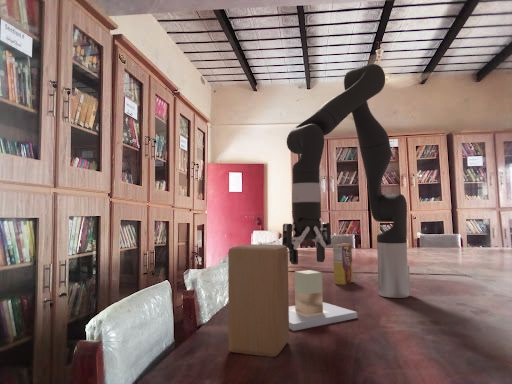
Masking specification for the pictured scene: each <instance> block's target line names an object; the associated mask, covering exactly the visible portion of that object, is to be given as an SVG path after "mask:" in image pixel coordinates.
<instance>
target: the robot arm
mask: <svg viewBox="0 0 512 384" xmlns="http://www.w3.org/2000/svg"><path fill="white" fill-rule="evenodd" d="M385 84H386V74H385V71H384V69H383V67H382V66H381V65H379V64H378V63H377V64H376V63H371V64H366V65H362V66H361V65H360V66H358V67H355V68H352V69H349V70H347V72H345V75H344V78H343V86H344V91H342V92H341V93H338V94H337V95H336V96H334V97H332V98H331V99H329V100H327V101H326V102H325V103H323V104H322V105H321V106H320V107H319V108H318V109H317V110H316V111H315V112H314V113H313V114H312V115H311V116H310V117H308V118H307V119H304V121H302V122H301V123H299V124H298V125H296V126H295V127H294V128H292V129H291V131H290V132H289V134H288V135H287V137H286V147H287V149H288V150H289V151H290V152H291V153H293V154H295V155H300V158H299V160H297V161H296V162H295V163H294V164H293V166H292V189H291V205H292V206H291V207H292V215H291V216H292V219H293V222H292V223H283V224H282V239H281V240H282V242H281V245H284V246H286V247H287V249H288V261H289V262H290V264H291V265H298V264H299V249H298V248H299V246H300V245H301V243H303V241H307V240H311V241H312V242H314V244H315V245H316V248H315V249H316V262H318V263H324V262H325V259H326V251H325V250H326V247H327V246H330V245H332V239H331V224H330V222H321V218H322V198H321V197H322V195H321V194H322V193H321V186H320V165H321V162H322V157H323V152H324V147H325V136H327V135H329V134H330V133H331V132H333V131H334V130H335V129H336V128H337V127H338V126H339V125H340V124H341V123H342V122H343V121H344V120H345V119H346V118H347V117H348V116H349V115H350V114H352V119H353V123H354V125H355V131H356V135H357V140H358V146H359V150H360V151H359V152H360V156H361V161H362V164H363V168H364V173H365V177H366V184H367V190H368V191H367V193H368V199H369V200H368V201H369V207H370V213H371V216H372V218H373V220H374V221H375V222H377V223H378V222H379V223H392V226H391V227H390V228H388V229H387V230H385V231H383V232H379V233H377V235H376V251H377V253H376V254H377V277H378V278H377V280H378V281H377V283H378V284H377V285H378V296H381V297H385V298H391V299H404V298H408V297H409V296H411V277H410V275H411V273H410V265H408V248H407V247H408V245H407V242H408V241H407V240H408V239H407V236H408V224H407V223H408V203H407V199H406V197H405V195H403V194H401V193H391V194H390V193H389V194H388V193H387V194H383V193H382V181H383V179H384V175H385V173H386V171H387V169H388V167H389V165H390V162H391V158H392V147H391V144H390V137H389V135H388V132H387V131H386V129H385V128H384V127H383V126H382V125H381V123H380V122H379V121H378V120H377V119H376V118H375V116H374V115H373V113H372V112H371V109H370V108H369V107H370V106H369V103H368V101H369V100H370V99H372V98H374V97H375V96H376V95H378V94H379V93H381V91H382V90H383V89H384V87H385ZM293 231H294V233H293Z"/></svg>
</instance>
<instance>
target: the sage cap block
mask: <svg viewBox="0 0 512 384" xmlns="http://www.w3.org/2000/svg"><path fill="white" fill-rule="evenodd" d="M295 291H297V292H300V293H304V294H313V293H320V292H322V293H323V272H322V271H317V270H311V269H308V270H299V271H298V270H297V271H294V292H295Z"/></svg>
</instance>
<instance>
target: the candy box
mask: <svg viewBox="0 0 512 384" xmlns="http://www.w3.org/2000/svg"><path fill="white" fill-rule="evenodd" d="M332 251H333V252H332V253H333V254H332V255H333V257H332V258H333V273H334V274H333V275H334V277H333V278H334V284H335V285H341V286H344V285H347V284H350V283H354V273H353V268H354V267H353V256H352V255H353V253H352V252H353V251H352V243H345V242H343V243H337V244H332Z"/></svg>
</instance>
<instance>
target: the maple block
mask: <svg viewBox="0 0 512 384" xmlns="http://www.w3.org/2000/svg"><path fill="white" fill-rule="evenodd" d="M294 298H295V299H294V303H295V305H294V306H295V311H298V312H301V313H304V314H307V315H309V314H315V313H320V312H323V302H324V301H323V298H324V296H323V291H322V292H320V293H313V294H304V293H300V292H297V291H295V290H294Z"/></svg>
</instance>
